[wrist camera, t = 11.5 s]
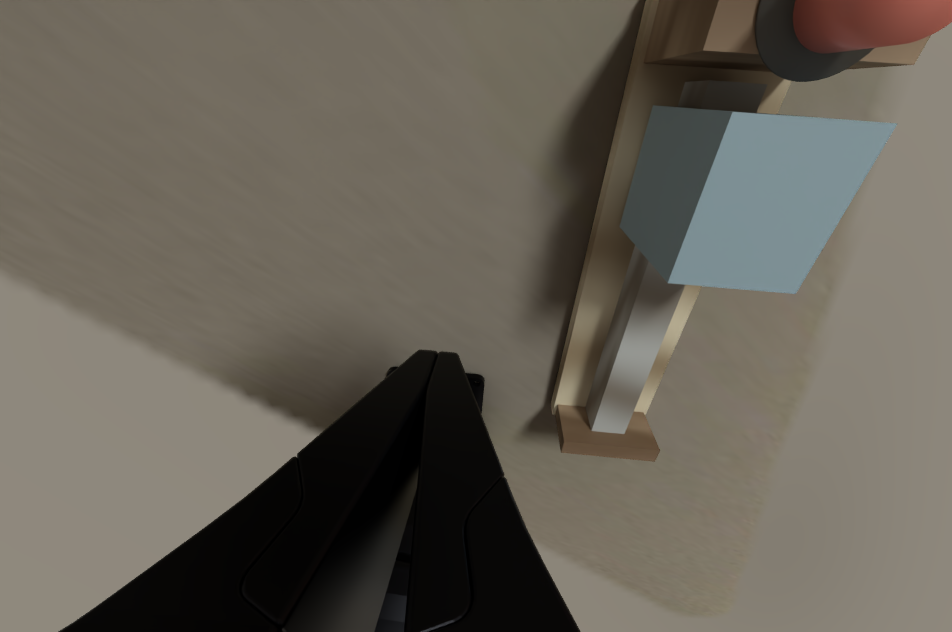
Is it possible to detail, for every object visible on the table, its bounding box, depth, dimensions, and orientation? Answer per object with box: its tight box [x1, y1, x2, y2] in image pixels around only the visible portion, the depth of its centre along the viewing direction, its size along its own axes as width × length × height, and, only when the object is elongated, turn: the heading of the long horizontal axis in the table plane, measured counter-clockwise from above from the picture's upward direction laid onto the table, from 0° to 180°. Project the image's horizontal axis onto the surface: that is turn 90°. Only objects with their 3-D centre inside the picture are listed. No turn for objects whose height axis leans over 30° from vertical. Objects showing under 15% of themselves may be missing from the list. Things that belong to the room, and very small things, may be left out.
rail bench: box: [551, 0, 931, 462], centre depth 17 cm, size 23×6×6 cm, turn 177°
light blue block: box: [619, 105, 897, 294], centre depth 13 cm, size 5×4×6 cm
